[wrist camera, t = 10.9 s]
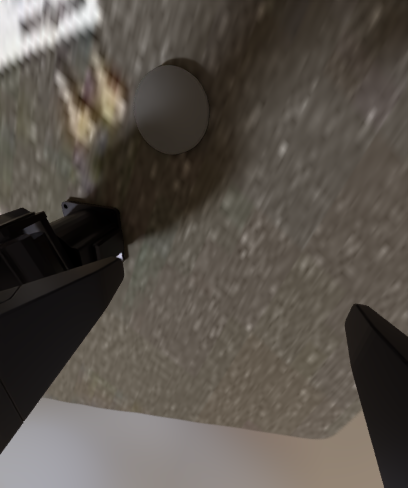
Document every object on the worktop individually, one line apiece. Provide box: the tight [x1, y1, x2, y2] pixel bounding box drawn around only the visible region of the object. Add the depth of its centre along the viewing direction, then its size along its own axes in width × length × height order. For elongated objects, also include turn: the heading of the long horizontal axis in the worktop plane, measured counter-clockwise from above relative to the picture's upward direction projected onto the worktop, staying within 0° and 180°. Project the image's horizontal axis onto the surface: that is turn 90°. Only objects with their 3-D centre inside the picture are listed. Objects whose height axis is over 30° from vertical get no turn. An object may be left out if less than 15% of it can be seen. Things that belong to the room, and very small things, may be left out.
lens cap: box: [134, 65, 210, 154], centre depth 19 cm, size 6×6×1 cm
